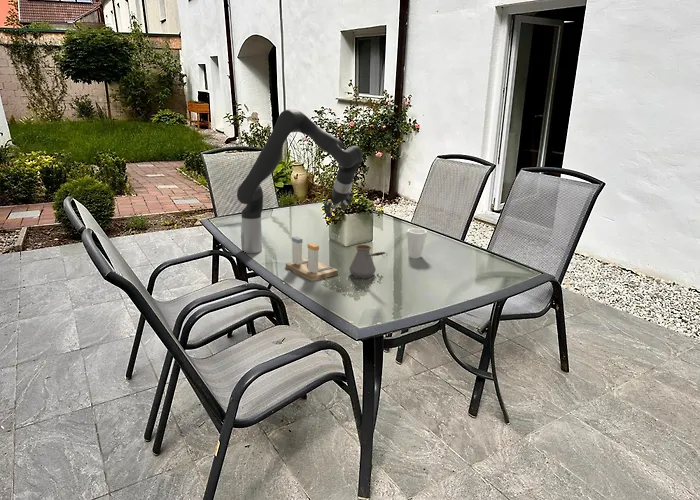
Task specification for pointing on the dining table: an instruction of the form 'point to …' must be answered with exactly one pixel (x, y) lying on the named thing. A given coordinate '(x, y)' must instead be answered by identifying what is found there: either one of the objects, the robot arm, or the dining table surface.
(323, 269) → the light wood flat block
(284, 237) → the dining table surface
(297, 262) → the grey topped white block
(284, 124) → the robot arm
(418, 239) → the foam cup
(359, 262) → the coffee pot
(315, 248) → the orange topped white block
